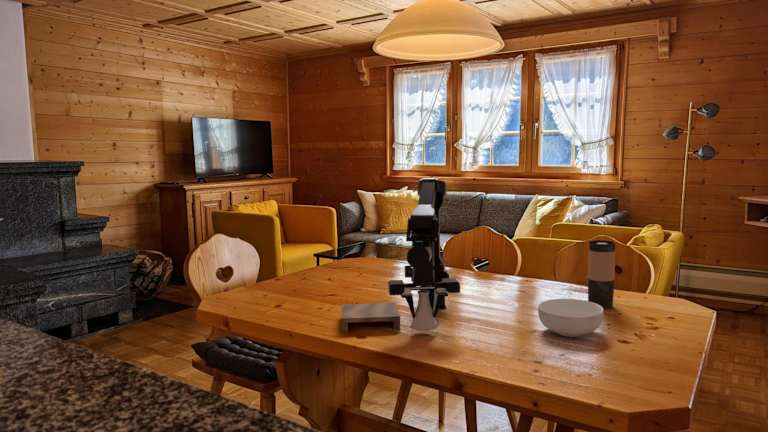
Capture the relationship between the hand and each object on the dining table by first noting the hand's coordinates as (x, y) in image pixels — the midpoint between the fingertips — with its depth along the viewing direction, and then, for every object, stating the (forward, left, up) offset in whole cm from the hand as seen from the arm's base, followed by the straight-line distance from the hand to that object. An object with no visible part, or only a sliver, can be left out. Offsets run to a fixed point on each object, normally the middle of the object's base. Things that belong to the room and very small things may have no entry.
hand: (423, 317), depth 153 cm
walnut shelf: (+14, -11, -5) cm, 18 cm away
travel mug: (-58, -20, -5) cm, 62 cm away
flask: (0, 0, -3) cm, 3 cm away
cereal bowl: (-39, +3, -5) cm, 39 cm away
